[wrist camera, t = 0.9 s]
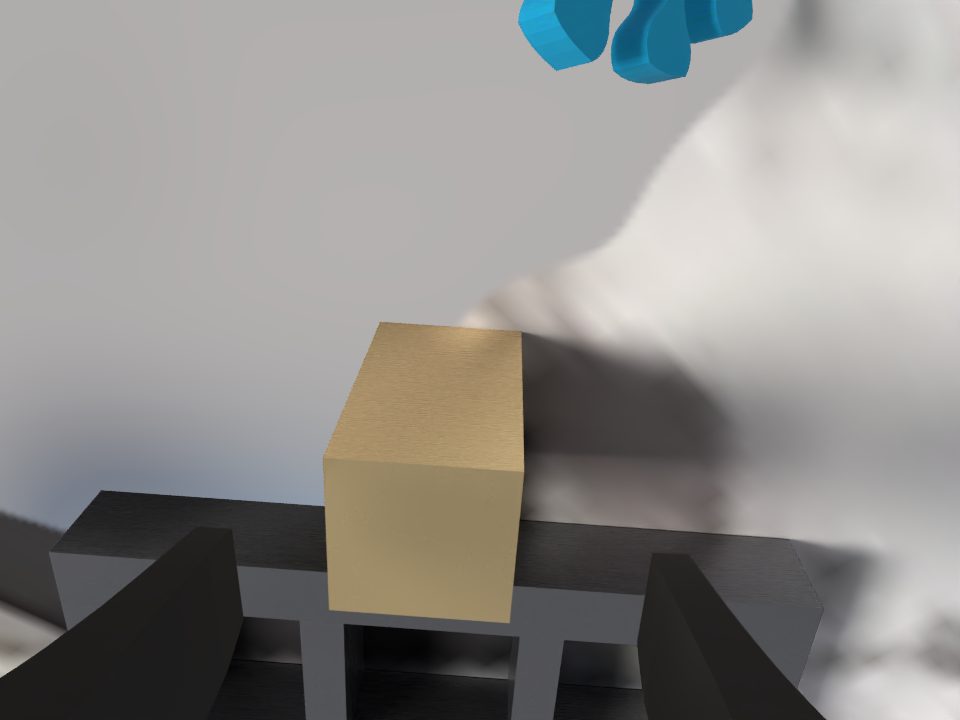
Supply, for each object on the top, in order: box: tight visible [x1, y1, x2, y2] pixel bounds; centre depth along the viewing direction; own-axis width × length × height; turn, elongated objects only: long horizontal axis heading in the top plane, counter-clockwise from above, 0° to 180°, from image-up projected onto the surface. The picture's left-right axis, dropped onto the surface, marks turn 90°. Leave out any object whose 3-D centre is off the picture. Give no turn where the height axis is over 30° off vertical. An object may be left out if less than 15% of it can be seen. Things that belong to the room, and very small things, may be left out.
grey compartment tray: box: [49, 490, 824, 720], centre depth 24 cm, size 22×9×3 cm, turn 87°
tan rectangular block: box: [323, 322, 524, 623], centre depth 19 cm, size 4×4×7 cm
